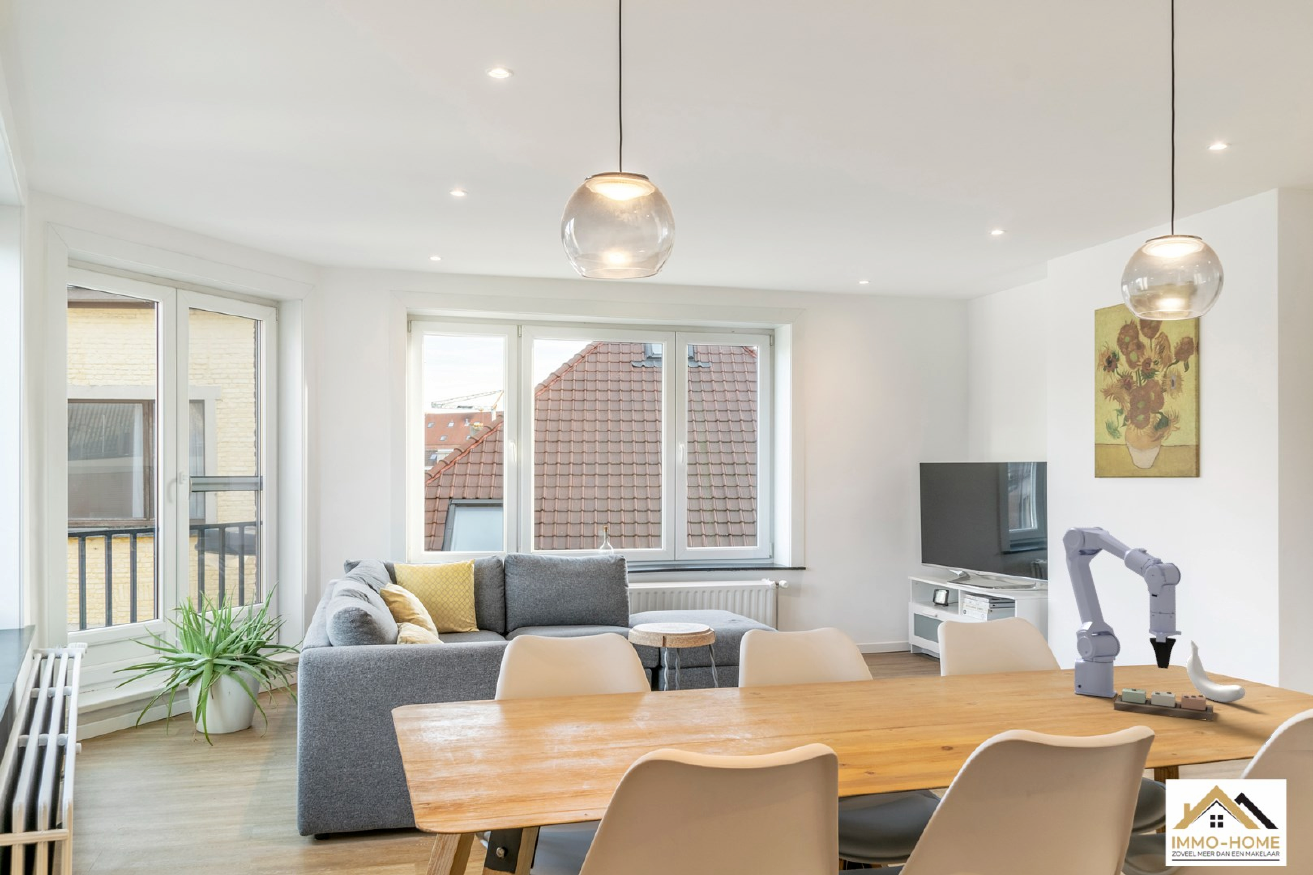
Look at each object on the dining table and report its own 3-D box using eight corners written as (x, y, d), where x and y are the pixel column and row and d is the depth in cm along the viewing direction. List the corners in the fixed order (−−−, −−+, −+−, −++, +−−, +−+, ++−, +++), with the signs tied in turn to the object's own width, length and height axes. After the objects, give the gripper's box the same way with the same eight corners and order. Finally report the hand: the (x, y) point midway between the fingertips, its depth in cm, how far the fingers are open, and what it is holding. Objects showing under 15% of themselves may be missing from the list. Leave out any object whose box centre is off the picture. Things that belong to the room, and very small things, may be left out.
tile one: (1122, 700, 243) (1121, 689, 243) (1124, 697, 247) (1124, 686, 247) (1144, 703, 240) (1144, 692, 240) (1146, 699, 244) (1146, 688, 244)
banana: (1240, 710, 242) (1239, 650, 242) (1180, 693, 260) (1179, 638, 261) (1256, 709, 243) (1255, 650, 244) (1195, 693, 261) (1194, 638, 262)
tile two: (1151, 704, 239) (1151, 693, 239) (1152, 700, 243) (1152, 689, 244) (1174, 706, 237) (1174, 695, 237) (1175, 702, 241) (1175, 691, 241)
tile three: (1181, 707, 236) (1181, 696, 236) (1182, 703, 240) (1182, 692, 240) (1205, 710, 233) (1204, 698, 233) (1205, 706, 238) (1205, 695, 238)
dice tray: (1114, 709, 241) (1114, 702, 241) (1118, 700, 250) (1118, 694, 250) (1212, 720, 230) (1211, 714, 230) (1213, 711, 239) (1213, 705, 239)
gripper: (1179, 616, 233) (1179, 674, 232) (1182, 610, 245) (1183, 665, 245) (1146, 614, 236) (1146, 671, 236) (1151, 608, 249) (1151, 662, 248)
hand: (1163, 667), depth 240 cm, fingers closed
